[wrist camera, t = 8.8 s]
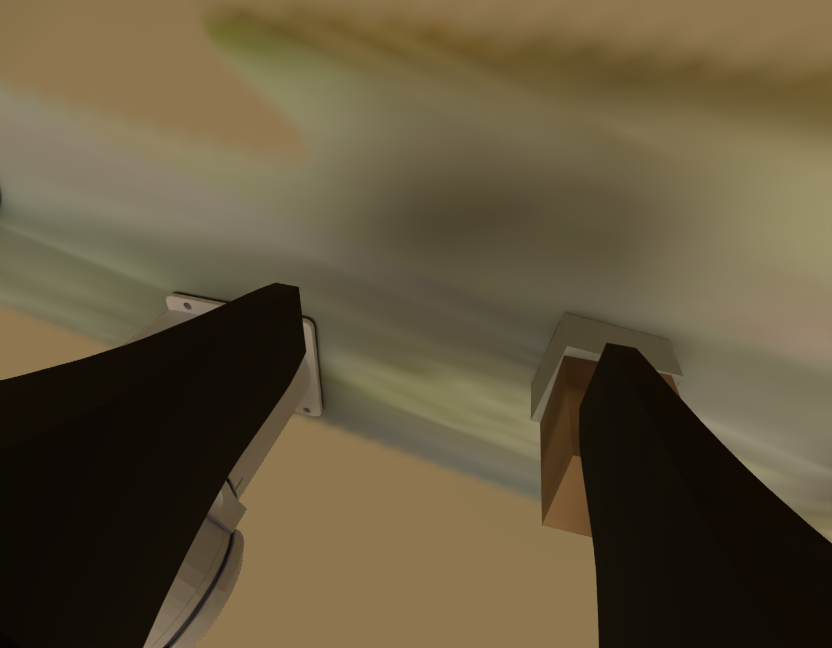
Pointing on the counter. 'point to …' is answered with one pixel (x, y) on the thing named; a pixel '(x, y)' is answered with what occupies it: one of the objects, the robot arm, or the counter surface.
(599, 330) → the slate block
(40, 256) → the counter surface
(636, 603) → the robot arm
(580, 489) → the walnut block
